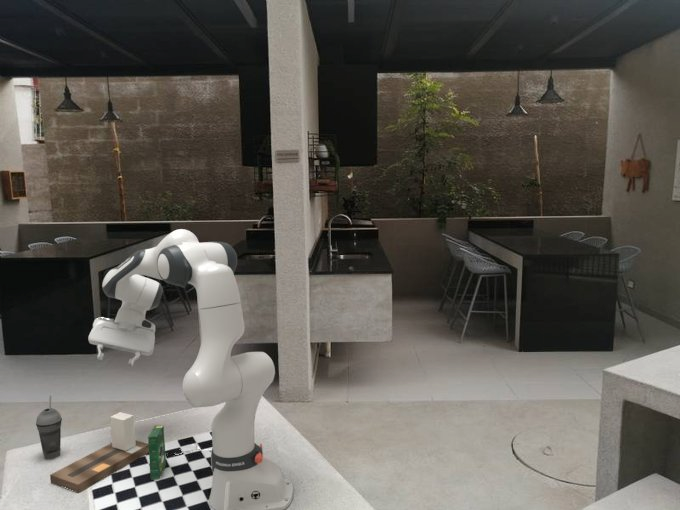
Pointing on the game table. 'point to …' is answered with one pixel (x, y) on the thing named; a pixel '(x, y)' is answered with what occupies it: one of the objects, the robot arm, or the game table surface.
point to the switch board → (97, 466)
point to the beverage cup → (50, 432)
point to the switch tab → (122, 431)
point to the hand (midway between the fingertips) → (114, 362)
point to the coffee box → (157, 452)
